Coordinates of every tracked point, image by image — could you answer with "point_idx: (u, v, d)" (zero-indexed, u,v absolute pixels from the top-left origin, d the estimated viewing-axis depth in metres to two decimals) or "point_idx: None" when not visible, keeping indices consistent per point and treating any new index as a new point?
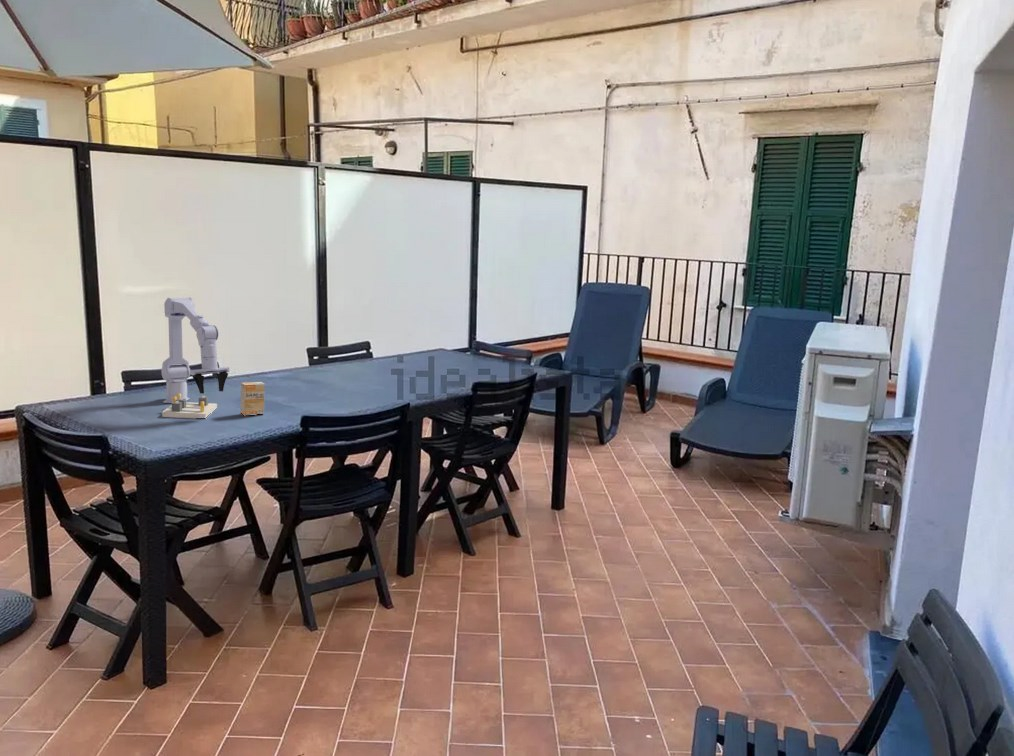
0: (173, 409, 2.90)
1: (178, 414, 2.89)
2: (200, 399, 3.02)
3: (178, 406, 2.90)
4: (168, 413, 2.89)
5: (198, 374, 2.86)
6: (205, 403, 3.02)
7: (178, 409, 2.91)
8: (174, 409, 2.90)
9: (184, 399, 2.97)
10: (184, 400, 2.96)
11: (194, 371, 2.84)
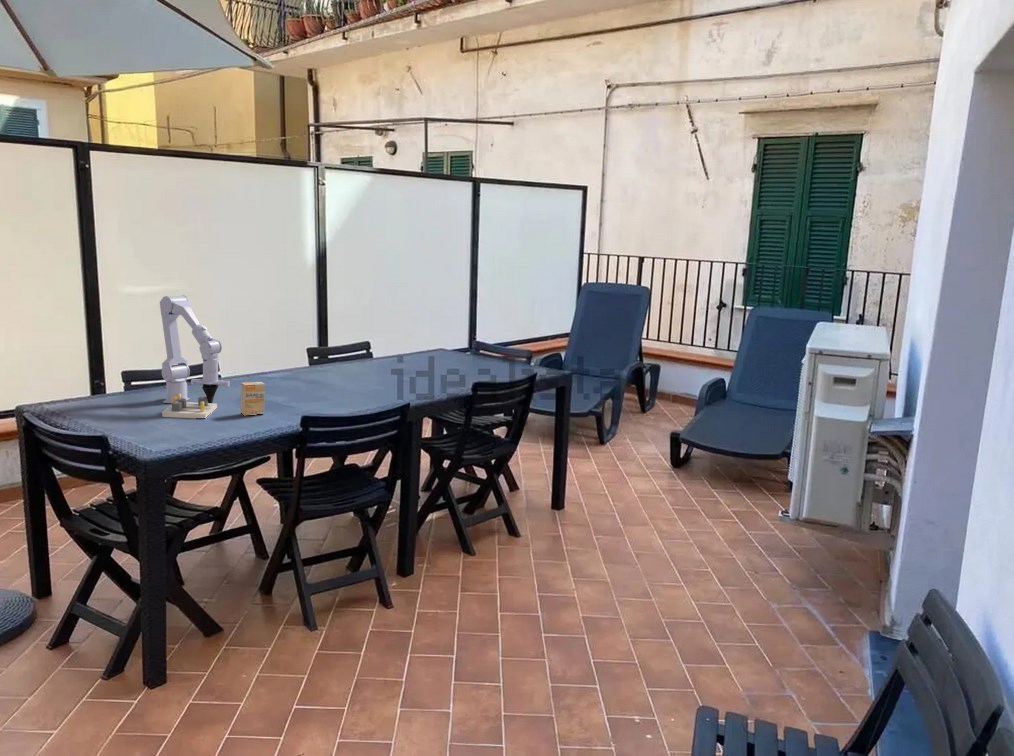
0: (173, 409, 2.90)
1: (178, 414, 2.89)
2: (200, 399, 3.02)
3: (178, 406, 2.90)
4: (168, 413, 2.89)
5: (197, 384, 3.01)
6: (205, 403, 3.02)
7: (178, 409, 2.91)
8: (174, 409, 2.90)
9: (184, 399, 2.97)
10: (184, 400, 2.96)
11: (192, 381, 3.00)
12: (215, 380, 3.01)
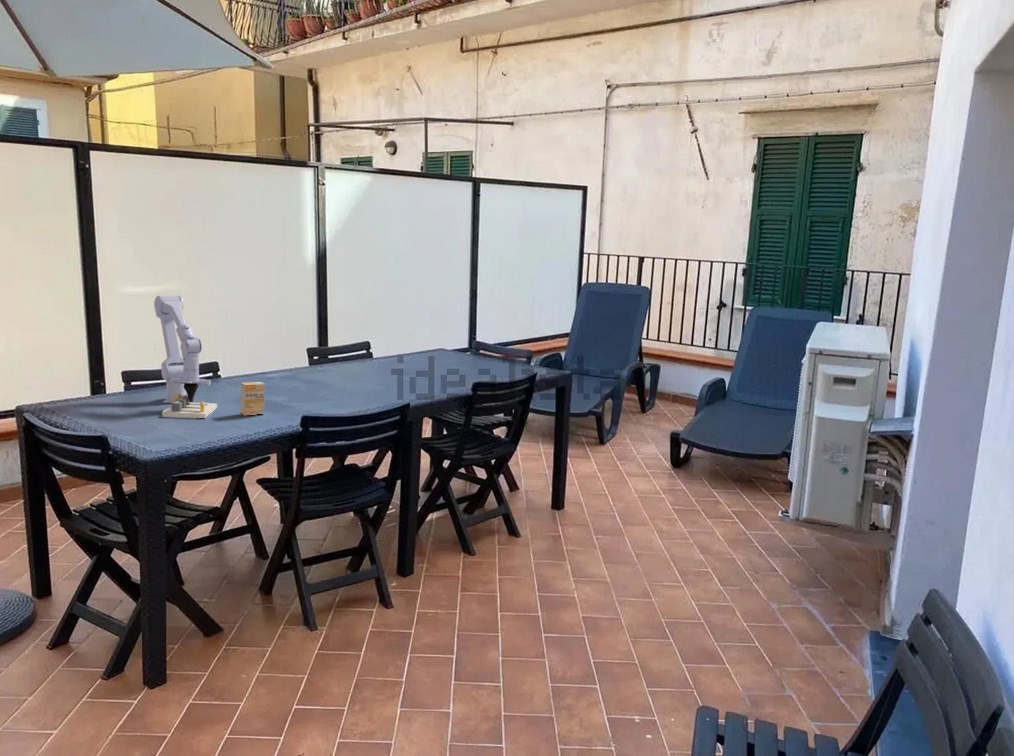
0: (173, 409, 2.90)
1: (178, 414, 2.89)
2: None
3: (178, 406, 2.90)
4: (168, 413, 2.89)
5: (177, 383, 3.00)
6: (186, 402, 3.01)
7: (178, 409, 2.91)
8: (174, 409, 2.90)
9: (184, 399, 2.97)
10: (184, 400, 2.96)
11: (173, 380, 2.99)
12: (196, 379, 3.00)
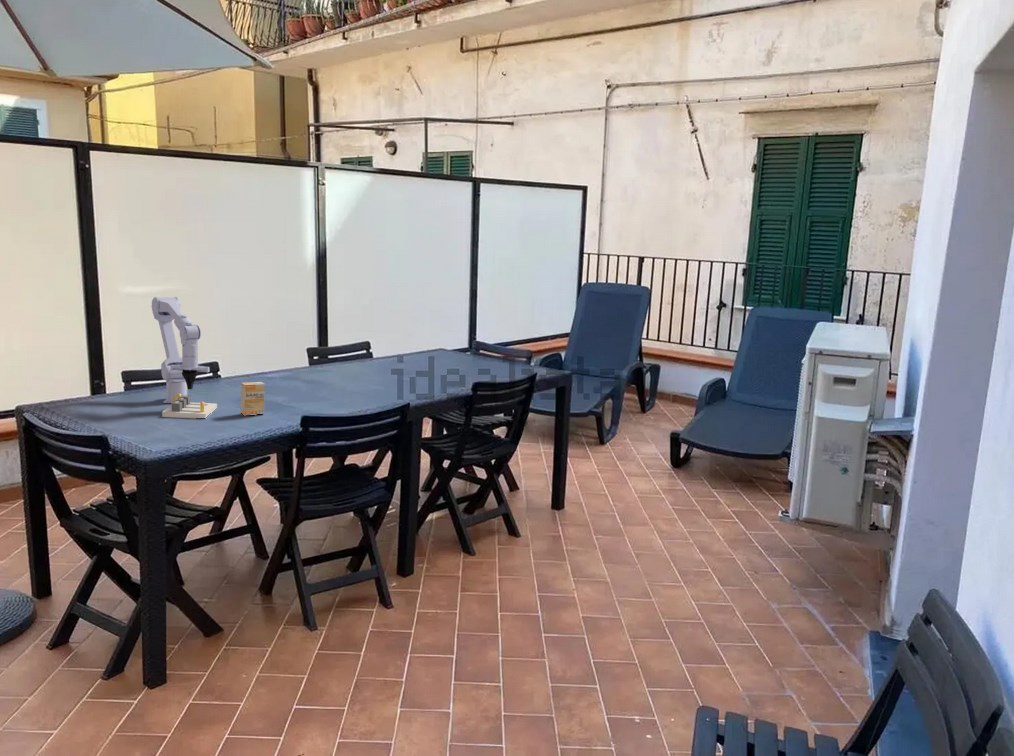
0: (173, 409, 2.90)
1: (178, 414, 2.89)
2: None
3: (178, 406, 2.90)
4: (168, 413, 2.89)
5: (176, 370, 2.99)
6: (187, 402, 3.01)
7: (178, 409, 2.91)
8: (174, 409, 2.90)
9: (184, 399, 2.97)
10: (184, 400, 2.96)
11: (172, 367, 2.98)
12: (195, 366, 2.99)
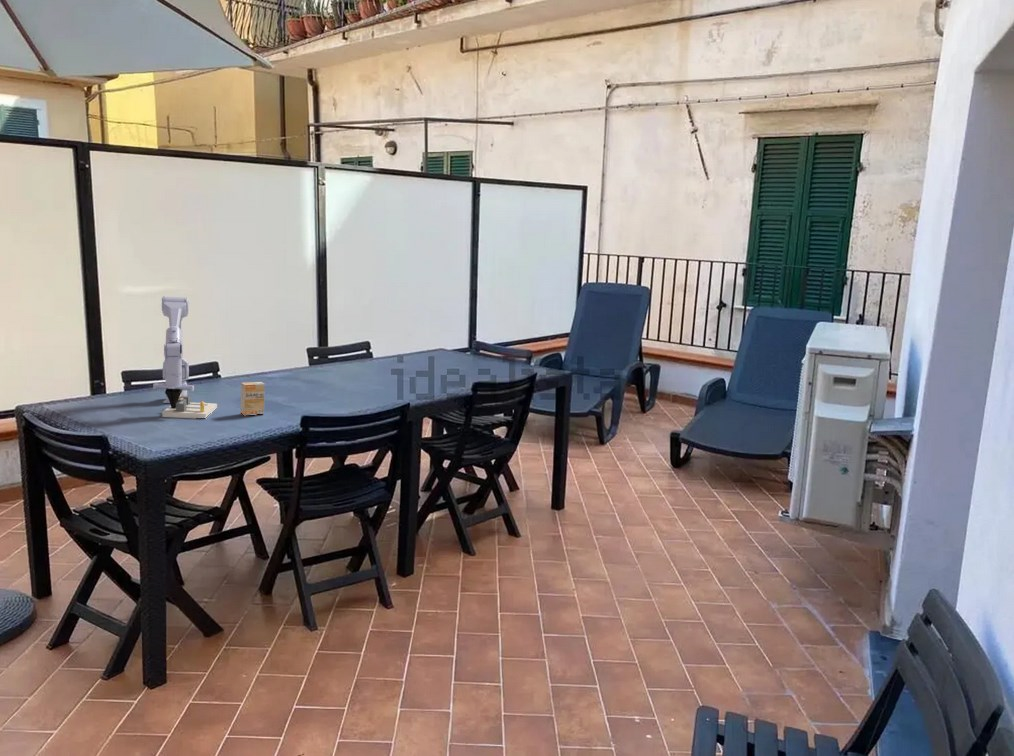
0: (177, 409, 2.91)
1: (178, 414, 2.89)
2: None
3: (182, 406, 2.90)
4: (168, 413, 2.89)
5: None
6: (187, 402, 3.01)
7: (182, 409, 2.91)
8: (178, 409, 2.91)
9: (184, 399, 2.97)
10: (184, 400, 2.96)
11: (155, 385, 2.88)
12: (178, 384, 2.89)
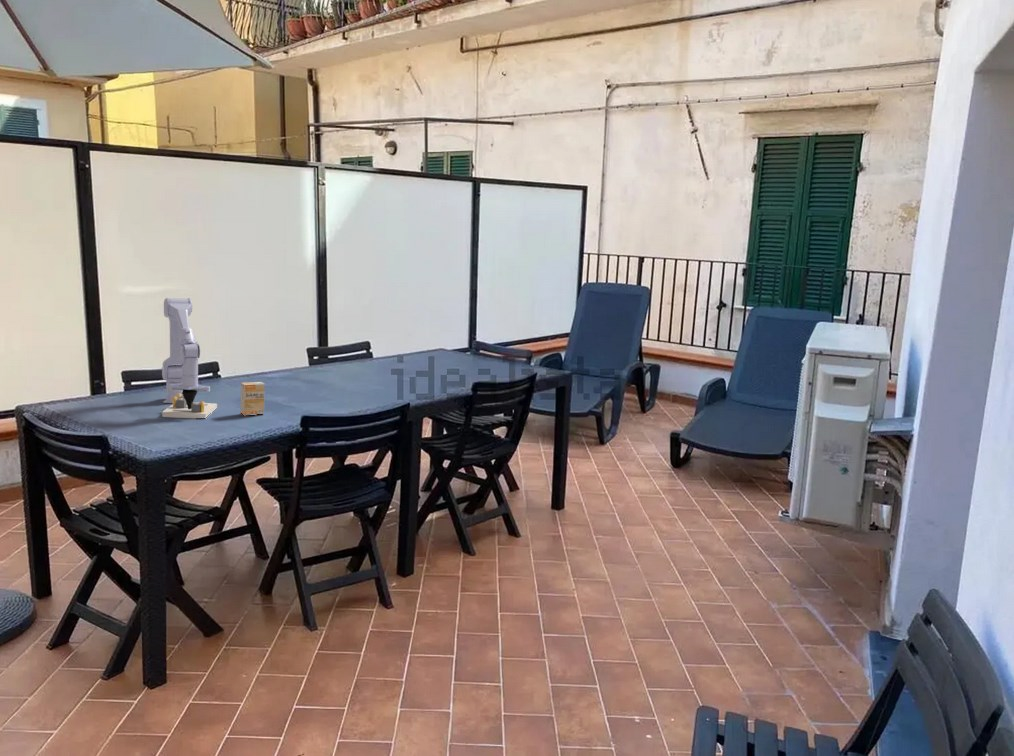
0: (193, 410, 2.91)
1: (178, 414, 2.89)
2: None
3: (198, 407, 2.91)
4: (168, 413, 2.89)
5: (176, 390, 2.90)
6: None
7: (198, 410, 2.91)
8: (194, 410, 2.91)
9: (184, 399, 2.97)
10: (184, 400, 2.96)
11: (171, 386, 2.89)
12: (195, 385, 2.89)
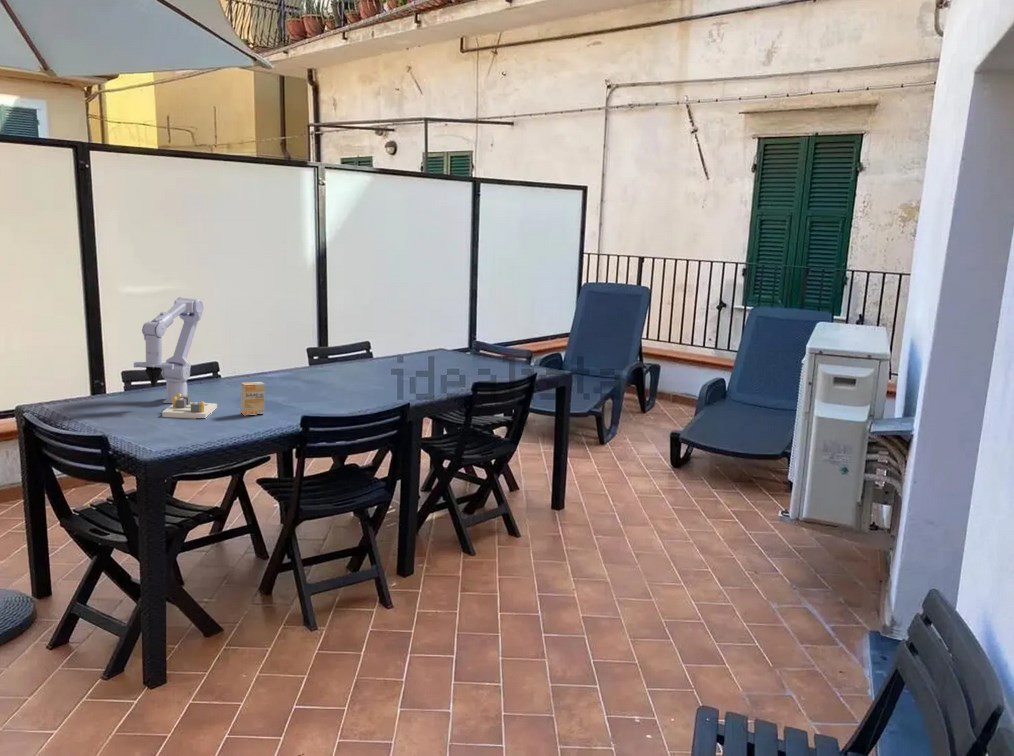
0: (192, 410, 2.91)
1: (178, 414, 2.89)
2: None
3: (197, 407, 2.91)
4: (168, 413, 2.89)
5: None
6: (187, 402, 3.01)
7: (197, 410, 2.91)
8: (193, 410, 2.91)
9: (184, 399, 2.97)
10: (184, 400, 2.96)
11: (135, 364, 2.94)
12: (158, 363, 2.94)
